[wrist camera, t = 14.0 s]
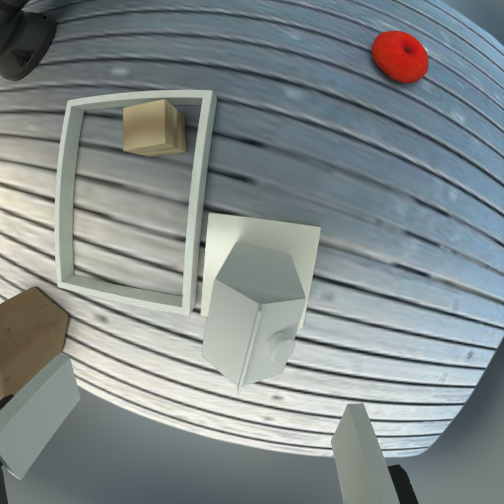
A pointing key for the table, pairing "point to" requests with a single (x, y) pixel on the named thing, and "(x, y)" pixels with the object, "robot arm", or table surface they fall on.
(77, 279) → the rectangular frame
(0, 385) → the wooden block
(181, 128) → the oak block
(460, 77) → the table surface
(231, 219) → the tile
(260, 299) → the milk carton
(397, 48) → the apple
